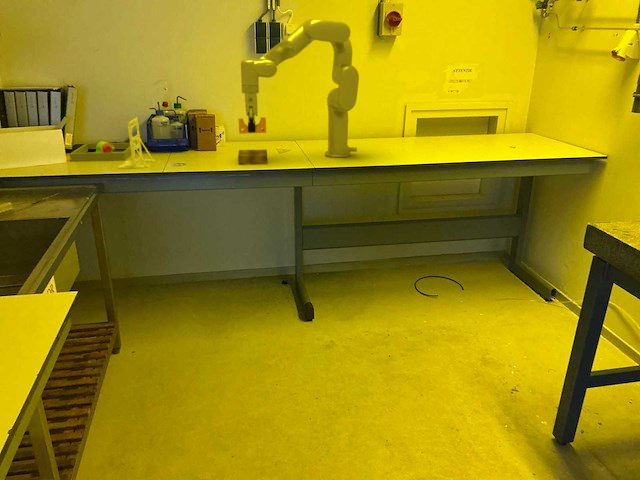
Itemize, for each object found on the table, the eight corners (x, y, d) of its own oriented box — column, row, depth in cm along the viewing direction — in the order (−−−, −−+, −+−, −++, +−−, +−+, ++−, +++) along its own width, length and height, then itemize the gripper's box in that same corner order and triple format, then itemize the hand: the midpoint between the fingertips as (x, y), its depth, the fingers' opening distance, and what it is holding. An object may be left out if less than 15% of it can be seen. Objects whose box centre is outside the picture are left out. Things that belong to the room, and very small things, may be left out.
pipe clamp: (265, 131, 238) (264, 116, 235) (266, 132, 234) (265, 118, 231) (238, 131, 235) (238, 117, 233) (239, 133, 231) (238, 119, 229)
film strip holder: (125, 161, 237) (119, 117, 230) (155, 161, 238) (150, 117, 231) (115, 168, 224) (109, 122, 217) (148, 168, 225) (142, 122, 218)
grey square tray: (136, 149, 261) (135, 142, 260) (125, 160, 239) (124, 152, 237) (87, 150, 258) (86, 143, 257) (71, 161, 236) (69, 153, 235)
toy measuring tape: (119, 153, 253) (117, 140, 250) (85, 161, 237) (83, 147, 234) (110, 152, 256) (108, 139, 253) (76, 159, 240) (74, 145, 237)
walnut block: (267, 157, 246) (266, 149, 245) (267, 164, 234) (267, 155, 233) (239, 158, 245) (239, 149, 243) (238, 164, 233) (238, 155, 231)
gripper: (258, 91, 220) (260, 134, 227) (258, 87, 236) (260, 127, 242) (241, 91, 219) (243, 134, 226) (242, 87, 235) (244, 127, 242)
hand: (251, 130), depth 234 cm, fingers closed on pipe clamp, 4 cm apart
